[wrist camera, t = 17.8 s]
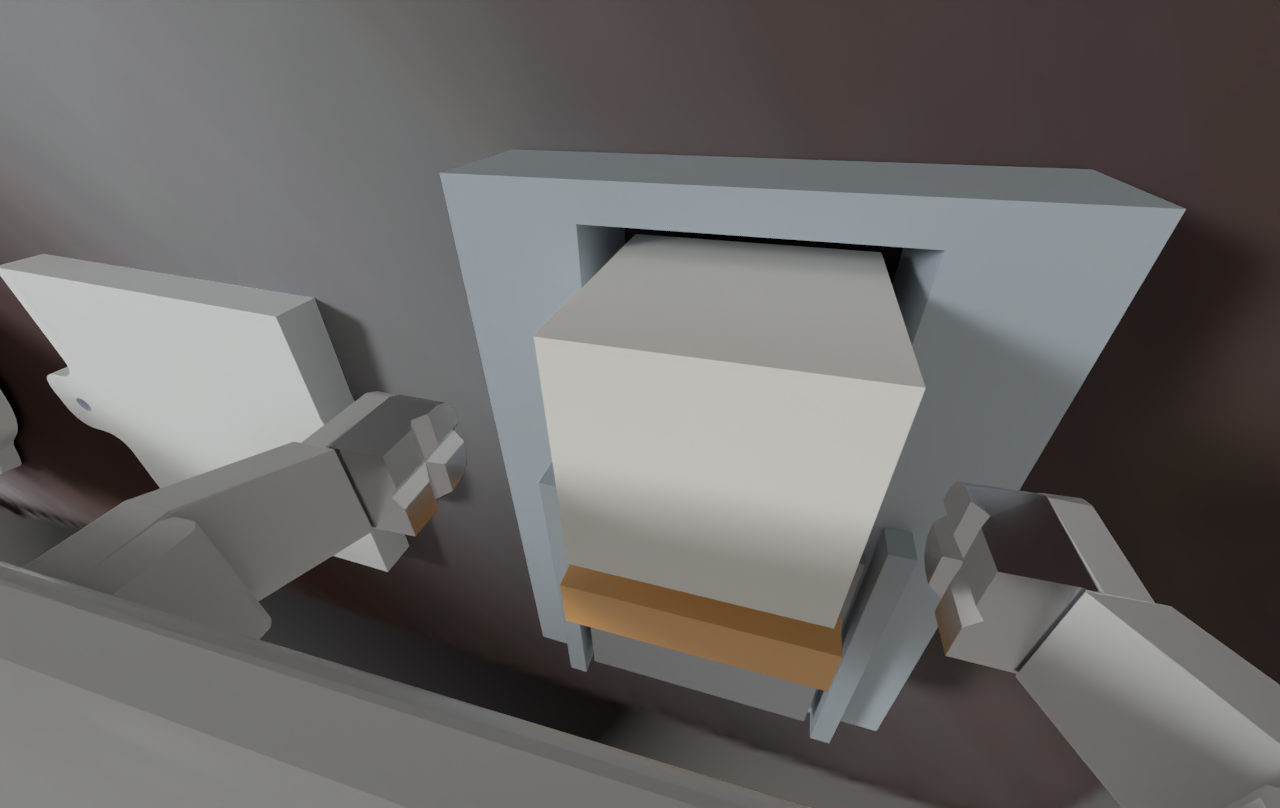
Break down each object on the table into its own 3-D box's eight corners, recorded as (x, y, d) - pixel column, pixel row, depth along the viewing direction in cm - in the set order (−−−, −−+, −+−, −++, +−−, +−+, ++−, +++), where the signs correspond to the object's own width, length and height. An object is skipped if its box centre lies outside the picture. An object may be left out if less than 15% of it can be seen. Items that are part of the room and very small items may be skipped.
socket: (573, 573, 22) (533, 656, 19) (512, 149, 12) (413, 181, 9) (868, 645, 19) (878, 757, 16) (1092, 169, 9) (1223, 224, 6)
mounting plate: (176, 474, 28) (139, 498, 26) (12, 243, 20) (-52, 258, 19) (459, 552, 24) (435, 585, 23) (385, 303, 17) (342, 328, 15)
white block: (652, 389, 15) (567, 563, 10) (653, 216, 12) (533, 336, 7) (827, 414, 14) (833, 629, 9) (874, 230, 11) (925, 387, 6)
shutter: (600, 645, 18) (568, 733, 16) (583, 487, 14) (535, 578, 11) (804, 702, 17) (802, 810, 14) (863, 544, 12) (875, 665, 10)
